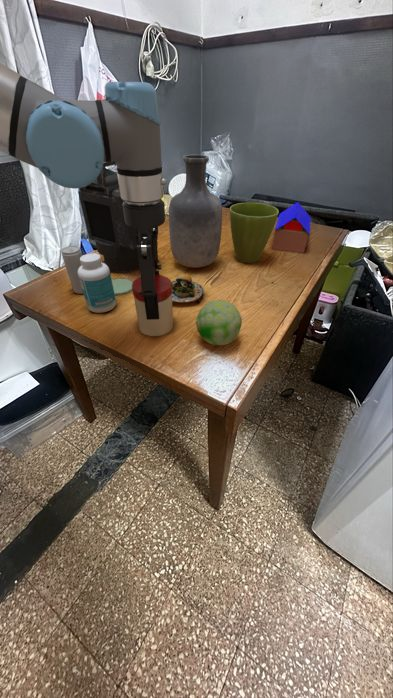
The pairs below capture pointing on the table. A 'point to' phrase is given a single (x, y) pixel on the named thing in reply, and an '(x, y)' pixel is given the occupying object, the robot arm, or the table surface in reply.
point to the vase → (195, 217)
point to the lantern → (109, 222)
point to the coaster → (122, 286)
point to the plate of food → (186, 289)
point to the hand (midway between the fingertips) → (154, 306)
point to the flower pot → (251, 229)
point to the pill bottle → (96, 284)
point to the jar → (155, 325)
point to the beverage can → (73, 266)
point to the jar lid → (162, 288)
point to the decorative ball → (218, 322)
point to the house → (292, 229)
